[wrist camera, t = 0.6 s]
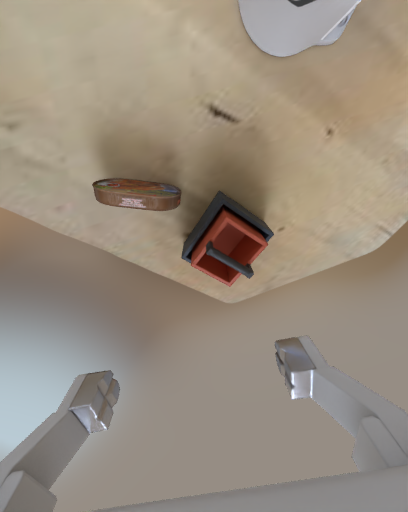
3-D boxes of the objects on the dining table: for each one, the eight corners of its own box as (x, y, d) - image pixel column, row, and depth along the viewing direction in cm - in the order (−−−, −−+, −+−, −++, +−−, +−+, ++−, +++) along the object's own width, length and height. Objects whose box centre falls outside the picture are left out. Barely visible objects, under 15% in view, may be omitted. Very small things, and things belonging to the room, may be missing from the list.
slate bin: (219, 190, 39) (222, 198, 33) (264, 221, 43) (274, 234, 37) (183, 243, 45) (181, 258, 39) (225, 267, 48) (229, 284, 42)
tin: (183, 186, 39) (179, 195, 32) (182, 202, 40) (177, 214, 33) (104, 176, 38) (81, 183, 30) (106, 192, 39) (85, 203, 32)
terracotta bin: (221, 201, 40) (229, 223, 29) (255, 224, 42) (274, 252, 31) (192, 243, 44) (189, 275, 33) (224, 261, 47) (232, 297, 36)
